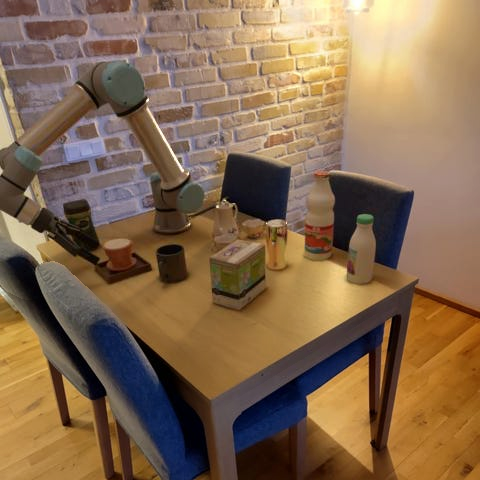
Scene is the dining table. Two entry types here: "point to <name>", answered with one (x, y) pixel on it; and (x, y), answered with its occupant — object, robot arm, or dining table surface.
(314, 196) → the fruit juice
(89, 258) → the robot arm
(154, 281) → the dining table surface
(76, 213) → the coffee jar
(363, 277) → the milk bottle
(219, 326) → the dining table surface
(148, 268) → the tray
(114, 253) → the filter
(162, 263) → the mug
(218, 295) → the tea box
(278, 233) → the beer glass
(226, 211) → the chinaware
